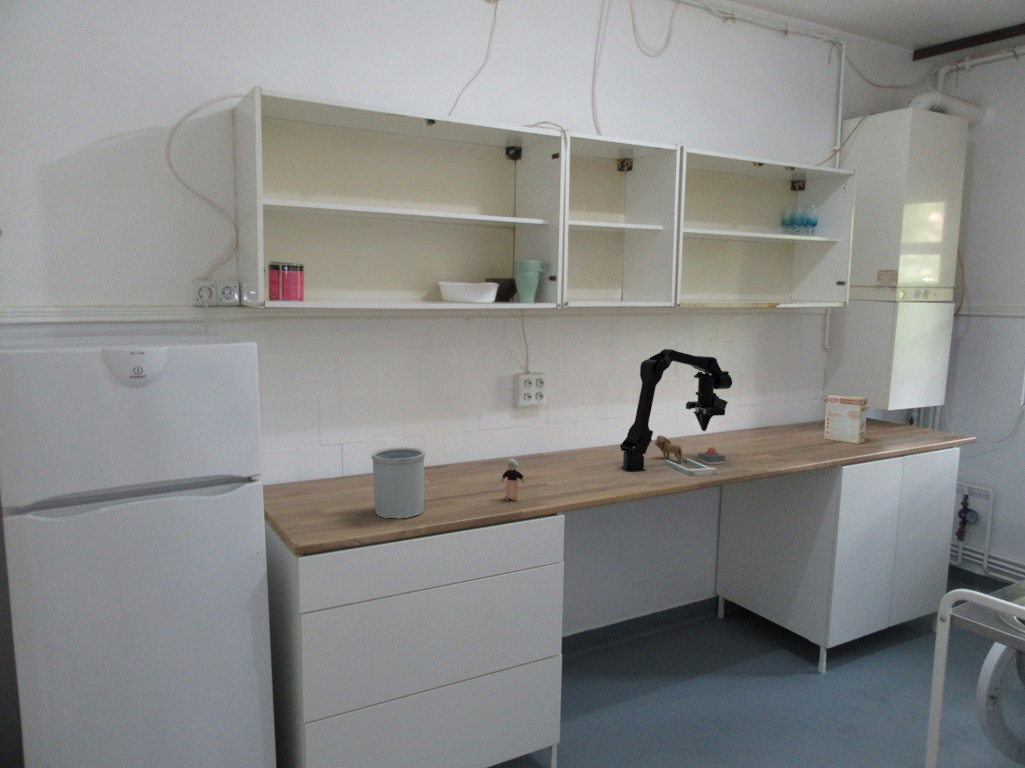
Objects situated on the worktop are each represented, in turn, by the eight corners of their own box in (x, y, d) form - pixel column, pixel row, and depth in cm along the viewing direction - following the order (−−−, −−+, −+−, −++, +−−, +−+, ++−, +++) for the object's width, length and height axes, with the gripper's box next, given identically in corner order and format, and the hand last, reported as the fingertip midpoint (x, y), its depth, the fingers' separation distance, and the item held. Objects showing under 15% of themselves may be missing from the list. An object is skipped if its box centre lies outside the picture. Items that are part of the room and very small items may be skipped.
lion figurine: (651, 458, 278) (652, 435, 277) (660, 456, 282) (661, 433, 281) (682, 465, 267) (683, 441, 266) (691, 463, 271) (692, 439, 270)
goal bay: (690, 476, 251) (691, 470, 251) (664, 464, 269) (664, 458, 269) (716, 474, 254) (716, 468, 253) (688, 462, 272) (688, 457, 271)
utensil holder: (409, 523, 197) (408, 459, 195) (362, 516, 202) (361, 455, 200) (434, 508, 211) (434, 449, 209) (390, 503, 216) (389, 445, 214)
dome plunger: (710, 459, 271) (710, 448, 270) (705, 457, 274) (705, 446, 273) (717, 458, 272) (718, 448, 271) (712, 456, 275) (713, 446, 274)
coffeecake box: (865, 442, 312) (868, 397, 310) (858, 444, 308) (861, 398, 305) (830, 437, 323) (833, 393, 321) (823, 439, 319) (825, 395, 316)
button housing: (708, 464, 269) (708, 456, 268) (698, 460, 275) (698, 452, 275) (724, 463, 271) (725, 455, 270) (714, 459, 277) (714, 451, 277)
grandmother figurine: (499, 500, 219) (499, 459, 218) (501, 497, 223) (501, 457, 221) (524, 501, 218) (524, 460, 216) (525, 498, 222) (526, 457, 220)
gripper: (738, 392, 265) (736, 434, 266) (711, 386, 283) (709, 426, 284) (711, 393, 262) (709, 435, 263) (686, 387, 279) (684, 427, 281)
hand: (703, 430), depth 273 cm, fingers closed
